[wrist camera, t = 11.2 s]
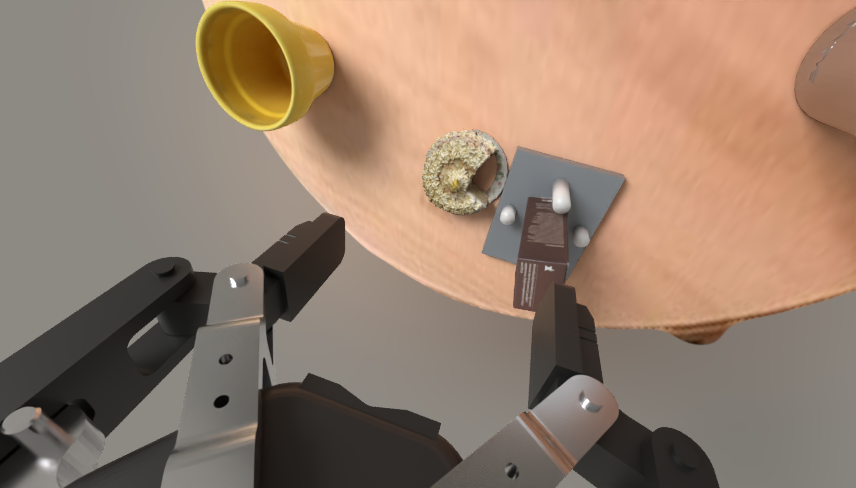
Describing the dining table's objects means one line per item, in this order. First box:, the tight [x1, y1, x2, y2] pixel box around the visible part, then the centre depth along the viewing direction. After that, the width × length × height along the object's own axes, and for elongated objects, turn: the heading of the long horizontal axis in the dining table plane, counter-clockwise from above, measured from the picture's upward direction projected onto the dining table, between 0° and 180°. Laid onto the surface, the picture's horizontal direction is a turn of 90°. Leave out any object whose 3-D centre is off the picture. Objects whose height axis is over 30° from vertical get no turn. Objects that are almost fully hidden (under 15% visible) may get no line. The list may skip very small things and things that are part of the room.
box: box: [513, 197, 569, 312], centre depth 34 cm, size 6×4×12 cm
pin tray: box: [482, 146, 625, 280], centre depth 37 cm, size 11×14×6 cm
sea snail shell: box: [422, 129, 508, 215], centre depth 37 cm, size 10×10×5 cm
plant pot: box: [196, 1, 334, 131], centre depth 34 cm, size 10×10×10 cm
